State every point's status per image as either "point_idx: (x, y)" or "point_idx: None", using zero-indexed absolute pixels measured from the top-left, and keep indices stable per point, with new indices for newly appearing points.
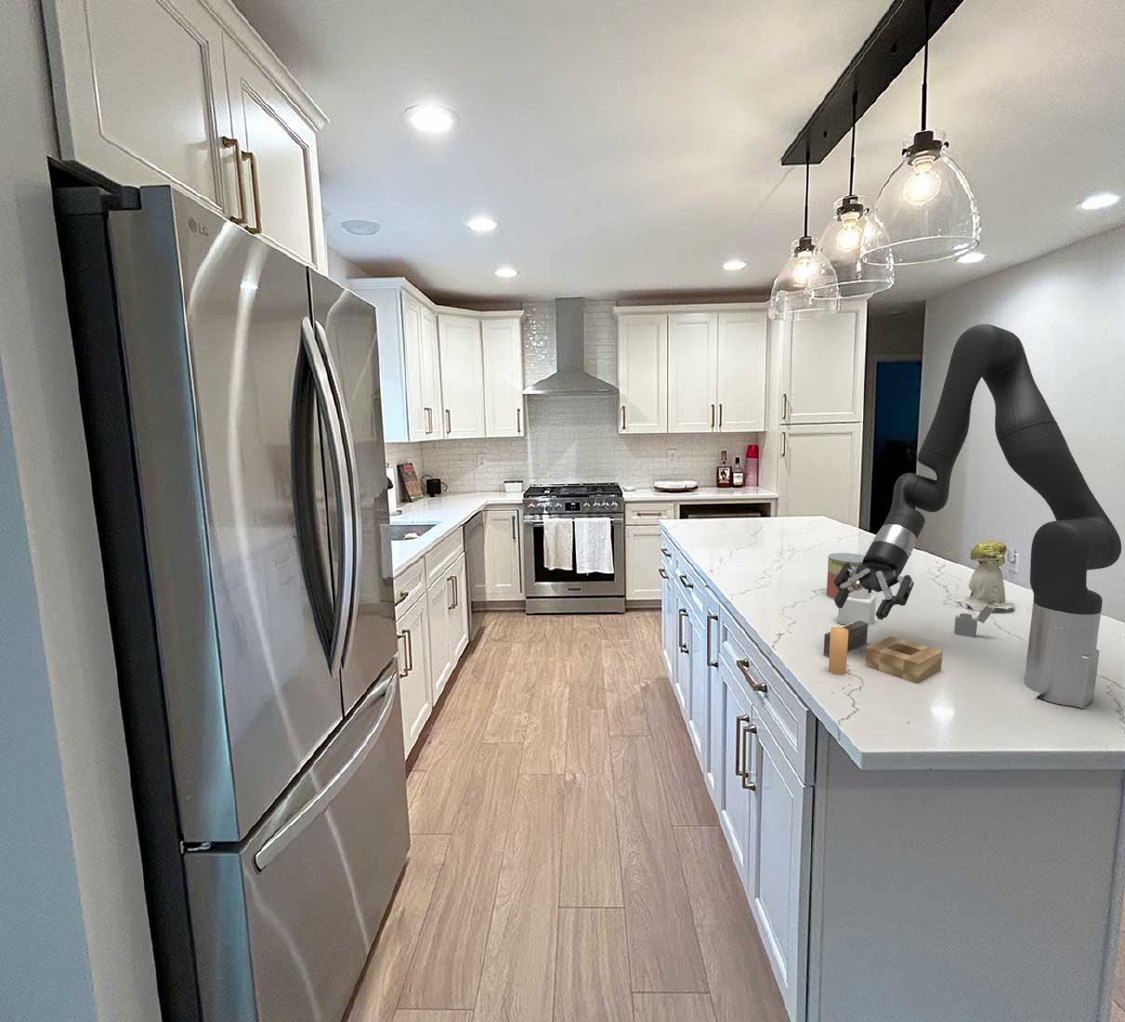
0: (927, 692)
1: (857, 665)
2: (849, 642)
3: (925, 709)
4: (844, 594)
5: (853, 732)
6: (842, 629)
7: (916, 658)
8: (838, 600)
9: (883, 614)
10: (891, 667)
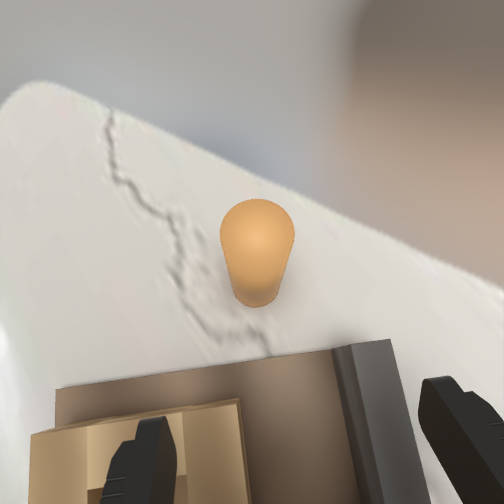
0: (51, 428)
1: None
2: (364, 477)
3: (13, 319)
4: (479, 475)
5: (68, 99)
6: (253, 247)
7: (58, 480)
8: (446, 392)
9: (123, 447)
10: (146, 413)
